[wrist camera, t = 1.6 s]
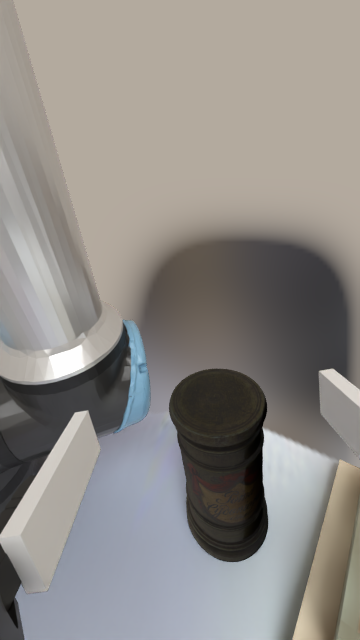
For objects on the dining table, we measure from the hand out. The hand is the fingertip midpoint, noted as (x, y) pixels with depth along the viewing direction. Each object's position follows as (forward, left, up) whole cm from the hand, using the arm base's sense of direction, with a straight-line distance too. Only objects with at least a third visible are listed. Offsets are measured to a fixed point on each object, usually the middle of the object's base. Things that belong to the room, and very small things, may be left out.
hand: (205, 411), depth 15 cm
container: (-3, +6, -23) cm, 24 cm away
